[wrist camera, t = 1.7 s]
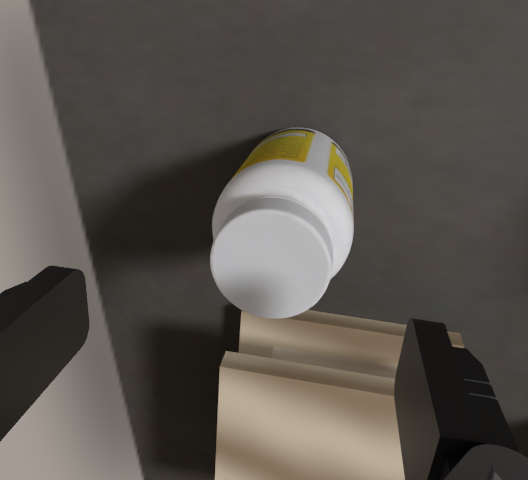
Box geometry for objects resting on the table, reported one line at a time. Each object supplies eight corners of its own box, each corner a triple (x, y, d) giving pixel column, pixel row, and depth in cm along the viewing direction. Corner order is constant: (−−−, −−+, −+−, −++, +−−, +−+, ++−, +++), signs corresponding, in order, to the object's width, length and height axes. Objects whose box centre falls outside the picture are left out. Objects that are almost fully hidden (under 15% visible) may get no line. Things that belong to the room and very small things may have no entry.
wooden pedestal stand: (245, 300, 27) (219, 366, 22) (459, 332, 26) (488, 412, 20) (235, 450, 32) (212, 534, 27) (414, 484, 31) (428, 581, 25)
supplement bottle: (228, 195, 25) (161, 284, 16) (279, 104, 23) (234, 149, 14) (315, 247, 25) (297, 362, 16) (374, 163, 23) (391, 244, 14)
